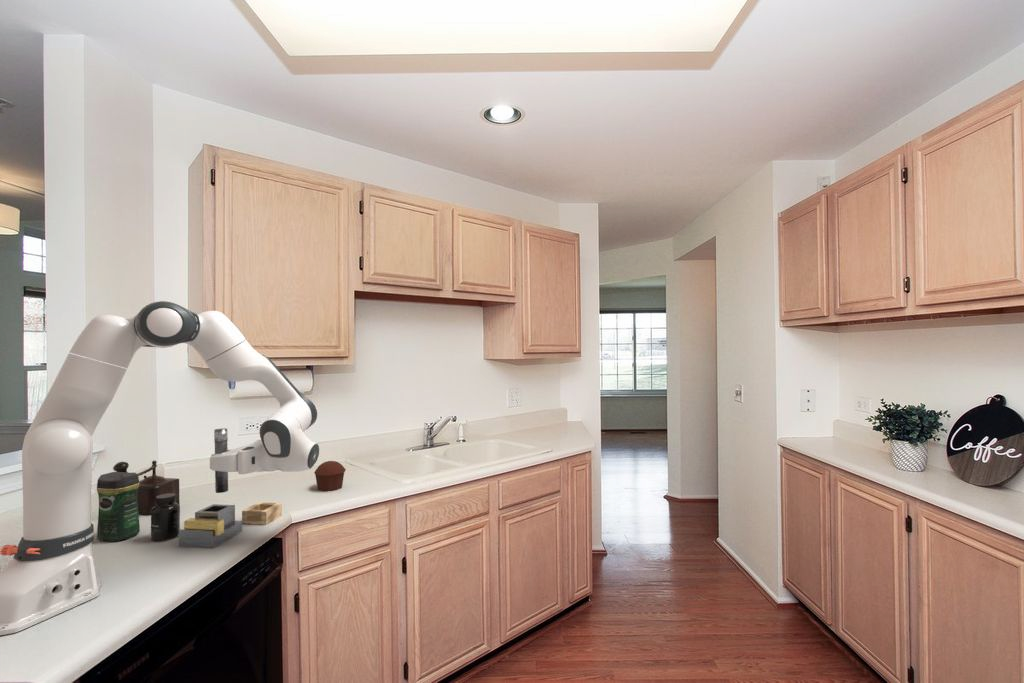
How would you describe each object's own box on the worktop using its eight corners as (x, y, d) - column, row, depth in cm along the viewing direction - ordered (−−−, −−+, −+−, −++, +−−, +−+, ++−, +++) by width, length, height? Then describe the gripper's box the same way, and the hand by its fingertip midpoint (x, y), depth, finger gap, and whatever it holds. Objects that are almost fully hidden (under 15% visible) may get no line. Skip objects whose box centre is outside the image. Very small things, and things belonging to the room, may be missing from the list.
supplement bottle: (146, 543, 136) (146, 500, 136) (157, 534, 143) (156, 493, 143) (174, 540, 138) (174, 498, 138) (183, 531, 144) (183, 491, 144)
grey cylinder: (223, 493, 140) (221, 430, 140) (212, 492, 141) (211, 430, 141) (231, 489, 143) (229, 428, 143) (220, 489, 144) (219, 428, 144)
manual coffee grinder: (151, 504, 170) (151, 452, 170) (180, 505, 168) (180, 452, 168) (109, 520, 154) (109, 463, 154) (141, 521, 153) (141, 464, 153)
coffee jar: (145, 532, 144) (145, 469, 144) (119, 543, 136) (118, 476, 136) (118, 530, 146) (118, 468, 146) (90, 541, 138) (90, 475, 138)
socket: (212, 548, 132) (212, 518, 132) (178, 546, 134) (178, 517, 134) (242, 531, 144) (241, 504, 144) (211, 529, 146) (210, 503, 146)
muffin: (311, 486, 189) (311, 461, 189) (341, 482, 195) (341, 457, 195) (318, 494, 179) (318, 467, 179) (349, 489, 185) (349, 463, 185)
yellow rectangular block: (217, 535, 133) (217, 522, 133) (184, 534, 134) (184, 521, 134) (224, 532, 135) (223, 519, 135) (191, 530, 136) (190, 517, 136)
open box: (266, 524, 149) (266, 511, 149) (242, 523, 150) (241, 510, 150) (281, 515, 157) (281, 503, 157) (258, 514, 158) (258, 502, 158)
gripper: (283, 437, 151) (242, 437, 152) (239, 452, 130) (191, 451, 132) (284, 457, 151) (242, 457, 152) (239, 476, 130) (192, 475, 132)
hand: (218, 454), depth 142 cm, fingers closed on grey cylinder, 3 cm apart
